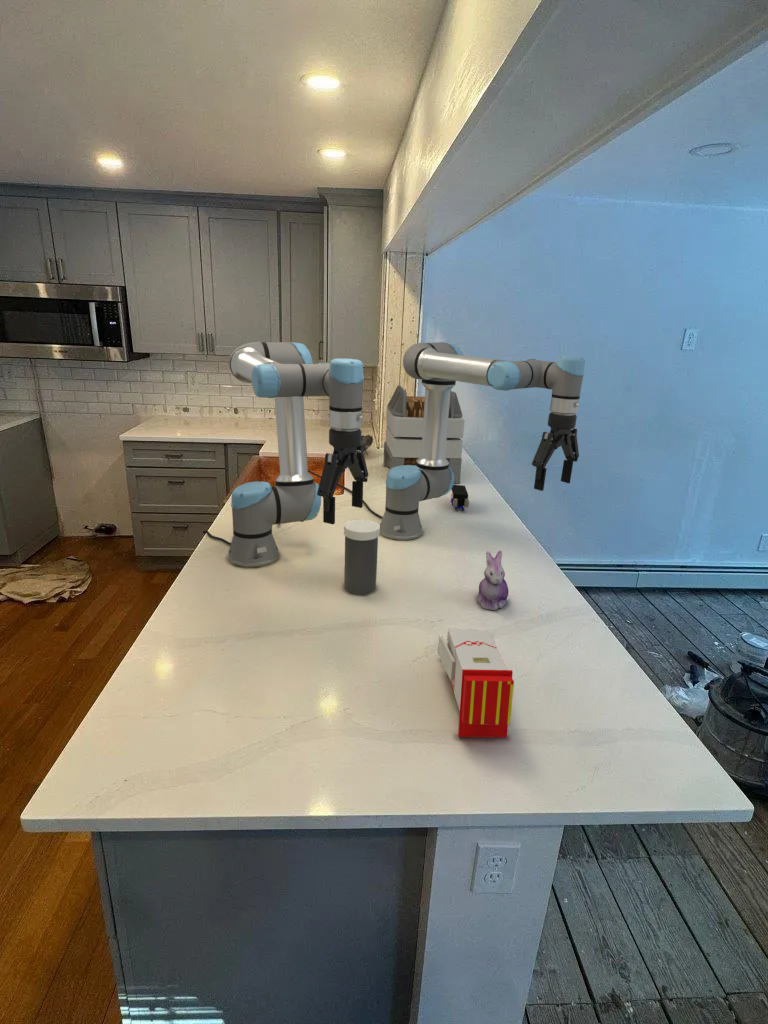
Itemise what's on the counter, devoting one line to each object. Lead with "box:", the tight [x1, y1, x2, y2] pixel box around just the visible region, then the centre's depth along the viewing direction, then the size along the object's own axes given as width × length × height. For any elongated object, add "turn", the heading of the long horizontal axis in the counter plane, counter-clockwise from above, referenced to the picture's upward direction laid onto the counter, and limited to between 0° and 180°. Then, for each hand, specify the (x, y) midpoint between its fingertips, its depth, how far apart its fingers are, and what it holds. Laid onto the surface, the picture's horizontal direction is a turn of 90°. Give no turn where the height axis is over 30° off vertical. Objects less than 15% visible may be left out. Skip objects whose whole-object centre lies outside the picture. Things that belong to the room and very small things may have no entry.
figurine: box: [477, 549, 509, 611], centre depth 153 cm, size 9×10×15 cm
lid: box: [343, 519, 381, 541], centre depth 154 cm, size 10×10×2 cm
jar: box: [343, 535, 379, 596], centre depth 157 cm, size 9×9×18 cm
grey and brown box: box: [383, 384, 465, 484], centre depth 268 cm, size 34×33×41 cm
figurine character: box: [449, 484, 470, 512], centre depth 229 cm, size 7×8×15 cm
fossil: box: [361, 434, 374, 455], centre depth 303 cm, size 22×10×15 cm
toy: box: [437, 628, 515, 738], centre depth 117 cm, size 12×13×30 cm
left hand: (343, 514), depth 138 cm, fingers open, 13 cm apart
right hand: (552, 485), depth 166 cm, fingers open, 13 cm apart
